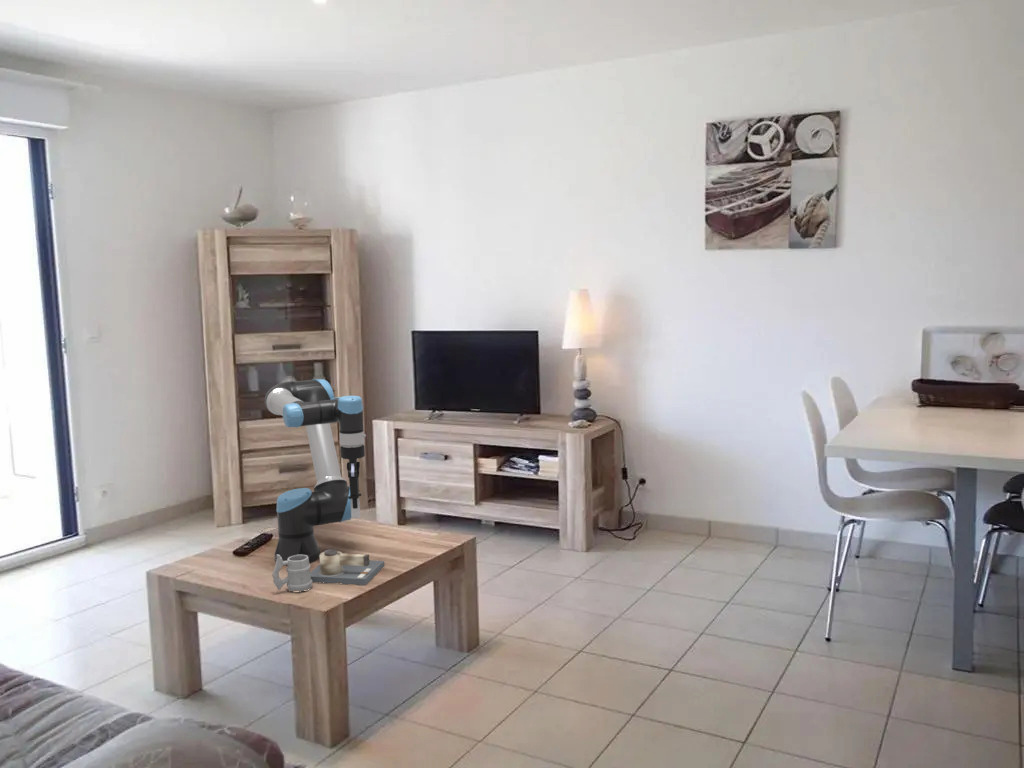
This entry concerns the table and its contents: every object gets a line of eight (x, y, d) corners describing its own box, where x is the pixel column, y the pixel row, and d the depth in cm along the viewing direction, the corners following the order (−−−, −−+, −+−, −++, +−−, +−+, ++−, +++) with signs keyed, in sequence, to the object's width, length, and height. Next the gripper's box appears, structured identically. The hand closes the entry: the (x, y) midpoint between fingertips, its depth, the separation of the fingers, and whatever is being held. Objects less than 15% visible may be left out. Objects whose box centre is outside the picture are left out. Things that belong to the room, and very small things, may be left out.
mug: (315, 589, 260) (313, 552, 259) (276, 597, 255) (274, 559, 253) (308, 582, 267) (306, 545, 265) (270, 590, 261) (268, 552, 260)
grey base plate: (305, 582, 267) (305, 574, 266) (327, 564, 283) (327, 557, 283) (365, 585, 263) (365, 577, 262) (384, 566, 279) (384, 559, 279)
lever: (316, 574, 267) (315, 554, 266) (326, 567, 274) (325, 547, 273) (364, 577, 263) (363, 556, 262) (372, 569, 270) (371, 549, 269)
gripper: (363, 448, 262) (367, 522, 265) (365, 440, 275) (368, 510, 278) (338, 449, 261) (342, 524, 264) (341, 441, 274) (345, 512, 277)
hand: (355, 517), depth 271 cm, fingers closed
